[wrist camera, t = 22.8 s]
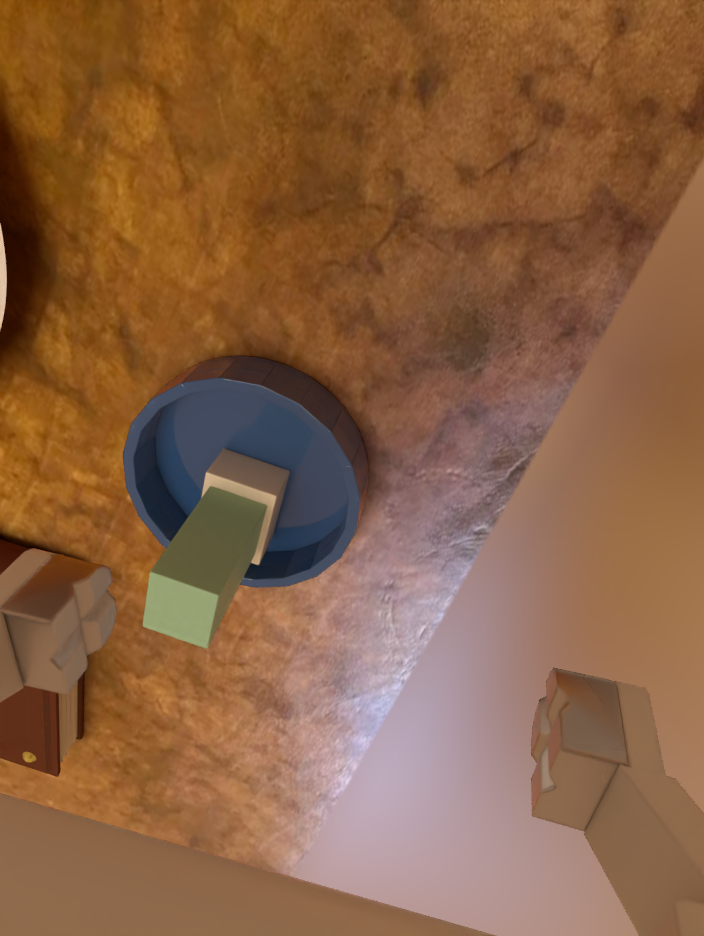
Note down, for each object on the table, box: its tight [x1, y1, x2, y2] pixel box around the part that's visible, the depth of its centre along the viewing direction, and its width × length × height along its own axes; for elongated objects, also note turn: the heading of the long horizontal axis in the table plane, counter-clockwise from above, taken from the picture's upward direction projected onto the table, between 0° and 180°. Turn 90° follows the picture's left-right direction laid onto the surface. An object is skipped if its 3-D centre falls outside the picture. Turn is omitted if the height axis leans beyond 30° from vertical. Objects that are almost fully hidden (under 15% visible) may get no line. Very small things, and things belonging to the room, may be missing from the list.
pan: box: [123, 356, 369, 588], centre depth 40 cm, size 14×14×4 cm
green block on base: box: [143, 449, 290, 648], centre depth 38 cm, size 4×6×11 cm
